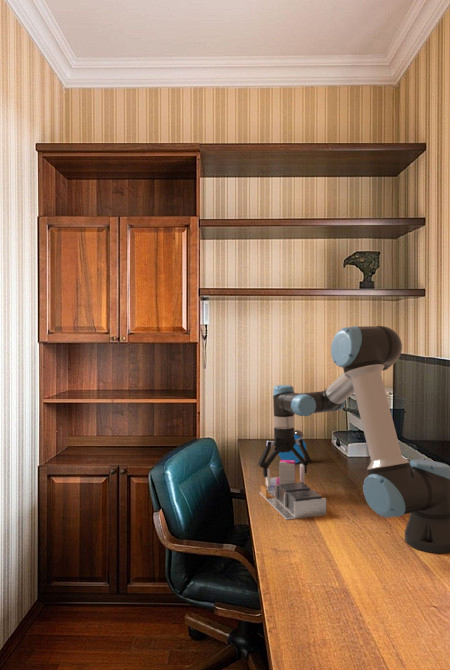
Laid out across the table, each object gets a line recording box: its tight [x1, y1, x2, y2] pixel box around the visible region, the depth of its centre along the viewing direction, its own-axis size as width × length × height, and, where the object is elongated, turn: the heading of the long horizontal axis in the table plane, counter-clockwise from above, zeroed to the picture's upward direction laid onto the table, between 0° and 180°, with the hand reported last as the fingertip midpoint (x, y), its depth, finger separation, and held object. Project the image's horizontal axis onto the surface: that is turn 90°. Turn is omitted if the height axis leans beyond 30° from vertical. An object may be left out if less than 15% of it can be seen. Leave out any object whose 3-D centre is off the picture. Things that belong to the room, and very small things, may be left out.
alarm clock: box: [278, 429, 307, 464], centre depth 244 cm, size 13×6×15 cm, turn 92°
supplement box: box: [278, 459, 296, 485], centre depth 197 cm, size 6×6×12 cm
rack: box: [259, 476, 327, 521], centre depth 188 cm, size 29×14×6 cm, turn 14°
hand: (285, 483), depth 197 cm, fingers open, 13 cm apart
